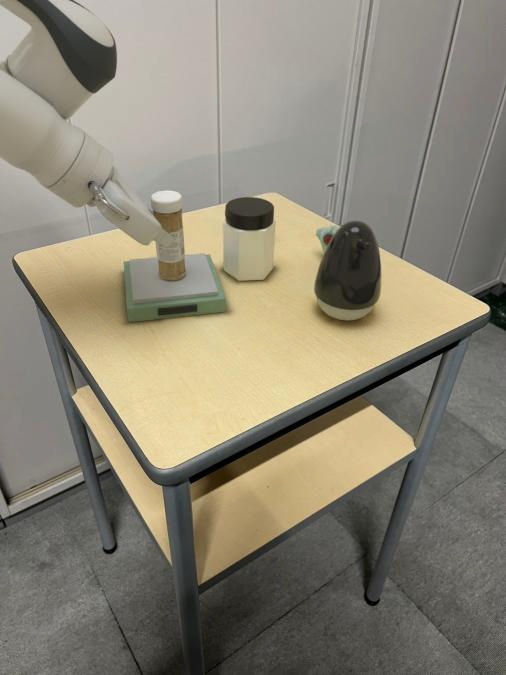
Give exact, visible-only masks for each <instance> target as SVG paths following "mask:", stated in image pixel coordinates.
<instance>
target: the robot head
mask: <svg viewBox="0 0 506 675" xmlns="http://www.w3.org/2000/svg"><path fill="white" fill-rule="evenodd" d="M339 228H340V227H339V226H338V225H332V224H331V225H329V226H326V227H317V229H316V231H315V236H316V237H317V239H318V240H319V242H320V246H321V249H322V252H323V253H324V252H325V250H326V248H327V246H328V244H329V242H330V240H331V239H332V237H333V235H334V234H335V233H336V231H337V230H338V229H339Z"/></svg>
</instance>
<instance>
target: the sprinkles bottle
mask: <svg viewBox="0 0 506 675" xmlns="http://www.w3.org/2000/svg"><path fill="white" fill-rule="evenodd" d="M150 206H151V210H152V212H153V214H154V217H155V218H156V219H157V221H158V222H159V223H160V224H161V226H162V229H164V230H166V231H167V232H169V233H170V234H171V235H172V237H173V238H174V240H173V242H172V243H171V244H170V246H169V247H165V246H163V245H162V244H160V243H159V242H156V241H155V250H156V251H155V252H156V257H157V258H158V267H159V271H158V274H159V276H160V277H161V278H162V279H165V280H170V281H174V280H178V279H181V278H183V277H184V276H185V275H186V269H185V255H186V253H185V252H186V250H185V234H184V224H183V214H182V213H183V212H182V211H183V196H182V194H181V193H180V192H178V191H175V190H170V189H169V190H167V189H166V190H159V191H156V192H154V193H153V194H152V195H151V196H150Z"/></svg>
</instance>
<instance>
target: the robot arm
mask: <svg viewBox="0 0 506 675" xmlns="http://www.w3.org/2000/svg"><path fill="white" fill-rule="evenodd" d="M0 6H1V7H3V8H4V9H5V10H7V11H8V12H10V13H12V14H13V15H14V16H16V17H17V18H19V19H20V20H22V21H23V22H25V23H26V24H27V25H29V26H30V30H29V31H28V32H27V34H26V35H25V36H24V37H23V39H22V40H21V41H20V42H19V44H18V45H17V46H16V47H15V48H14V50H12V52H11V53H10V54H8V56H6V58H5V59H4V60H2V61H0V159H2V160H3V161H5V162H6V163H7V164H9V165H11V166H12V167H14V168H16V169H19V170H23V171H24V172H27V173H28V174H30V175H31V176H32V177H33V178H34V179H35V180H36V181H37V182H38V183H39V184H40V185H41V186H42V187H43V188H45V189H47V190H48V191H50V192H51V193H52V194H54V195H55V196H57V197H58V198H60V199H61V200H63V201H64V202H65V203H67V204H69V205H70V206H72V207H73V208H76V209H77V208H82V207H85V206H86V205H87V206H89V207H91V208H92V207H96V208H97V210H98V211H99V213H100V214H101V215H102V216H103V217H104V218H105V219H106V220H108V221H109V222H110V223H111V224H112V225H113V226H115V227H116V228H117V229H119V230H120V231H121V232H123V233H124V234H126V235H127V236H129V237H130V238H132V240H134V241H135V242H136V243H137V244H140V245H142V246H145V247H148V246H149V245H150V244H151V243H152V242H153V241H154V242H155V243H156V242H159V243H160V244H162V245H163V246H165V247H169V246H170V244H171V243H172V242H173V240H174V238H173V237H172V235H171V234H170V233H169V232H167V231H166V230H164V229H162V226H161V224H160V223H159V222H158V221H157V219H156V218H155V217H154V213H153V210H152V209H150V208H149V207H148V206H147V205H146V204H145V203H144V202H143V201H142V200H141V199H140V197H139V196H138V195H137V193H136V192H135V190H133V188H132V187H131V186H130V184H129V183H128V182H127V181H126V180H125V178H124V176H122V175H121V174H120V173H119V172H118V168H116V167H115V166H114V161H115V160H114V155H113V153H112V152H111V151H109V150H108V149H107V148H106V147H105V146H104V145H102V144H101V143H100V142H98V141H97V140H96V139H94V137H92V136H91V135H89V134H88V133H87V132H86V131H85V130H83V129H82V128H81V127H78V126H77V125H74V124H72V123H70V122H68V120H69V119H70V118H72V117H73V116H74V115H75V114H76V113H77V112H78V110H79V109H80V108H81V107H82V106H83V105H84V104H85V103H86V102H87V101H88V100H89V99H90V98H92V96H93V95H94V94H96V93H98V92H99V91H100V90H101V89H103V88H104V87H105V86H106V85H108V84H109V83H110V82H111V81H113V80H114V79H115V78H116V75H117V68H118V52H117V51H118V50H117V43H116V40H115V36H113V33H111V31H110V30H109V28H108V27H107V26H106V25H105V23H104V22H103V21H102V20H101V19H100V18H99V17H98V16H97V15H95V14H94V13H93V12H92V11H91V10H89V9H88V8H86V7H85V6H84V5H82V4H80V3H78V2H77V1H75V0H0Z"/></svg>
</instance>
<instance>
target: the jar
mask: <svg viewBox="0 0 506 675" xmlns="http://www.w3.org/2000/svg"><path fill="white" fill-rule="evenodd" d="M224 209H225V210H224V217H225V218H224V220H223V221H222V252H223V253H222V254H223V255H222V256H223V258H222V261H223V265H222V266H223V271H224V272H225V273H227V274H228V275H230V276H231V277H232V278H233V279H235V280H237V281H239V282H241V281H264V280H265V279H266V277H268V275H269V274H270V273H271V272H272V270H274V263H275V262H274V261H275V242H276V241H275V240H276V224H277V220H276V219H274V218H275V206H274V204H273V203H272V202H270V201H269V200H267V199H264V198H261V197H254V196H244V197H243V196H242V197H236V198H233V199H231V200H229V201H228V202H226V204H225V208H224Z"/></svg>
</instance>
